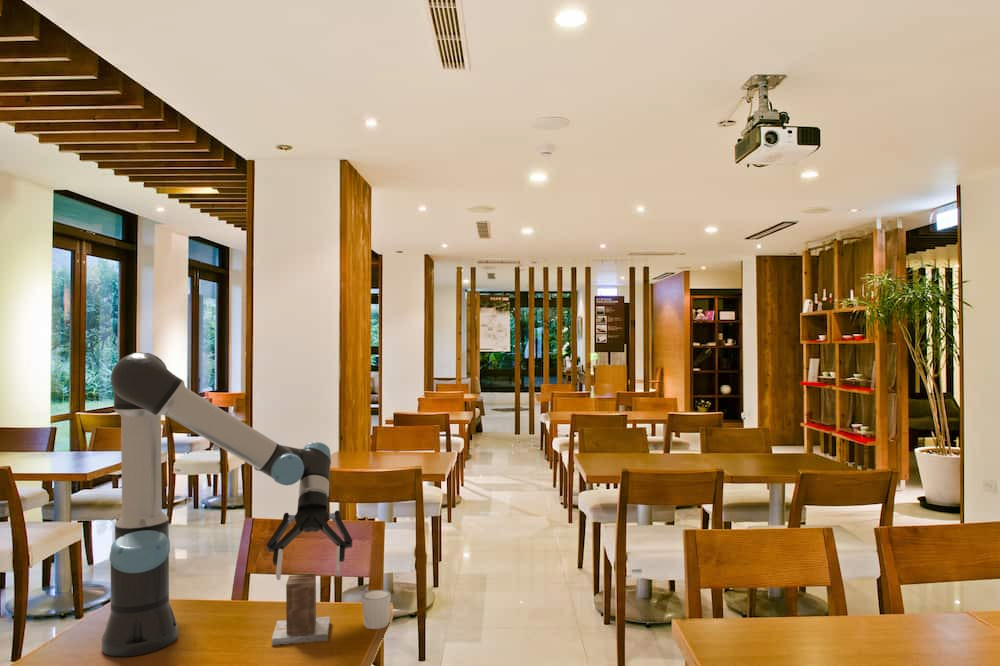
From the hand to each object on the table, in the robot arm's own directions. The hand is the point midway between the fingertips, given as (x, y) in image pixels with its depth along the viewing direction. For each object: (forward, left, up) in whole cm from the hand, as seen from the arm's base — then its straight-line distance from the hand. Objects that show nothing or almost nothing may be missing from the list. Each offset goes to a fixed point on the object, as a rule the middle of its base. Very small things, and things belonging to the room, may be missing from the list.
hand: (307, 575), depth 163 cm
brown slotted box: (+2, -5, -10) cm, 11 cm away
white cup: (+15, +6, -12) cm, 20 cm away
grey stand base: (+2, -5, -12) cm, 13 cm away
